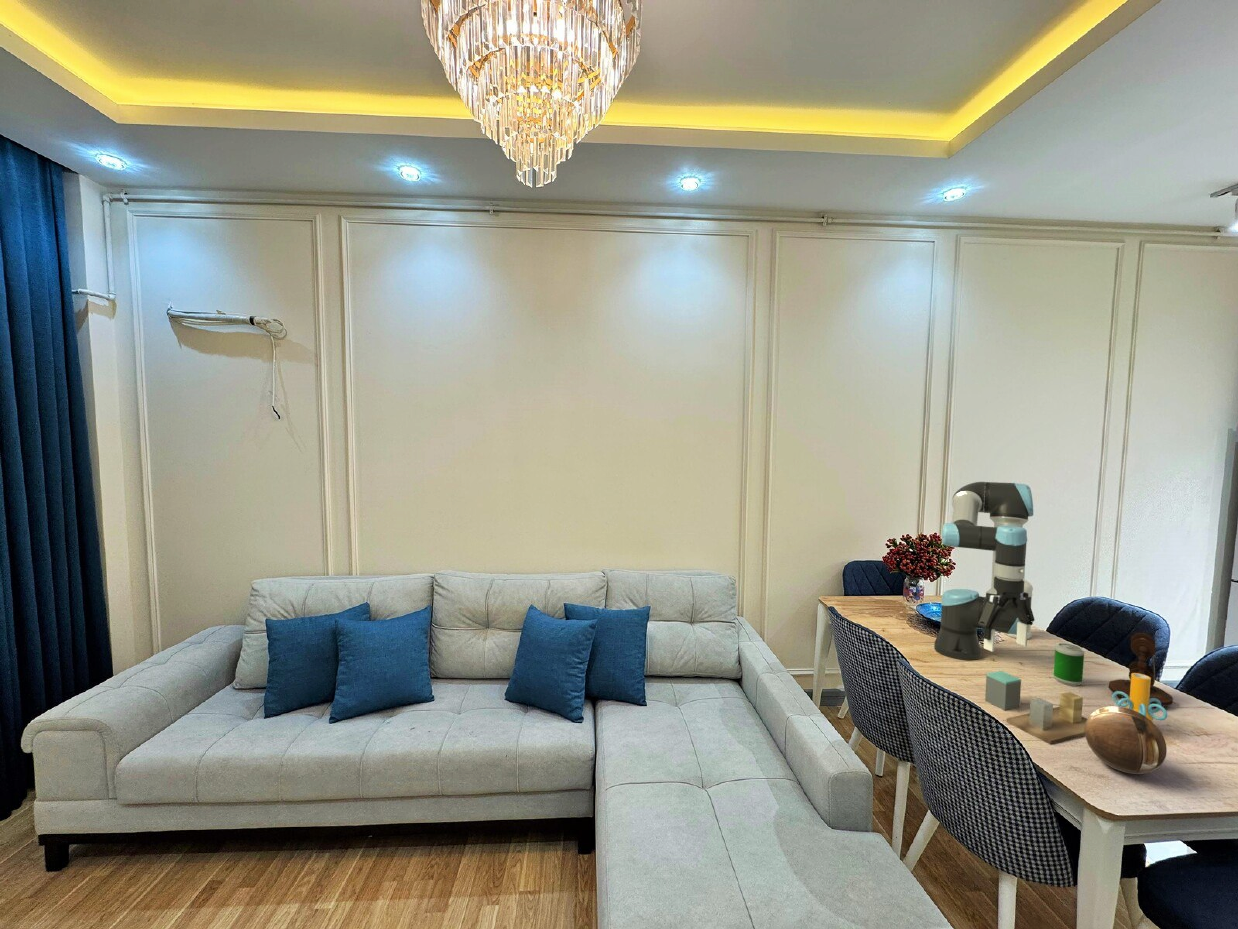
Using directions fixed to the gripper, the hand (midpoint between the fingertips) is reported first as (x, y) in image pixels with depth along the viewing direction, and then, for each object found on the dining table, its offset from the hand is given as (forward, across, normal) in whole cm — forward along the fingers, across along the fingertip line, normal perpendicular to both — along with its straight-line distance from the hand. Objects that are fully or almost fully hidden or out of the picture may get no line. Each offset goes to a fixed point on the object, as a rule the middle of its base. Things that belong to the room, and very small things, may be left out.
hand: (1005, 647), depth 170 cm
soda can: (+18, +35, +4) cm, 40 cm away
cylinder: (+18, +23, -22) cm, 37 cm away
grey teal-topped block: (+18, 0, 0) cm, 18 cm away
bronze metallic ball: (+18, -3, -33) cm, 38 cm away
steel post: (+18, -4, -14) cm, 23 cm away
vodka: (+18, +60, +39) cm, 74 cm away
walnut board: (+18, +2, -14) cm, 23 cm away
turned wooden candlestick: (+18, +44, -11) cm, 49 cm away
